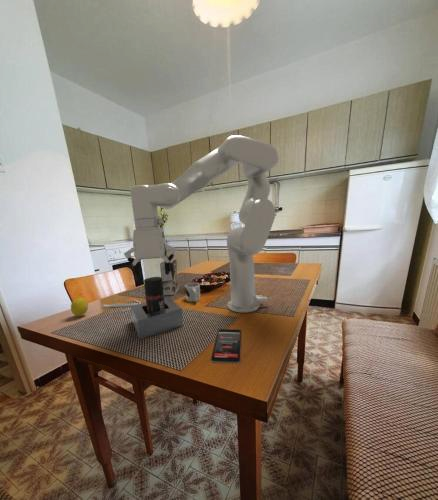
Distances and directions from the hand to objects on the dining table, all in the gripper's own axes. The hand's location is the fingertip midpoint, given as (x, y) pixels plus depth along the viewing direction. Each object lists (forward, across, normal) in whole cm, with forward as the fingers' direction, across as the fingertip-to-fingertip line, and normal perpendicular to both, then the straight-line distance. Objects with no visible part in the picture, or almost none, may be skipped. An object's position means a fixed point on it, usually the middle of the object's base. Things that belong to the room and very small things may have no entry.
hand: (153, 274), depth 69 cm
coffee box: (+18, +3, -33) cm, 37 cm away
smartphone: (+19, -23, +15) cm, 33 cm away
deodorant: (+17, +1, 0) cm, 17 cm away
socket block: (+18, +1, 0) cm, 18 cm away
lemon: (+17, +34, -10) cm, 39 cm away
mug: (+18, -10, -20) cm, 29 cm away
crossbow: (+18, +21, -18) cm, 33 cm away
